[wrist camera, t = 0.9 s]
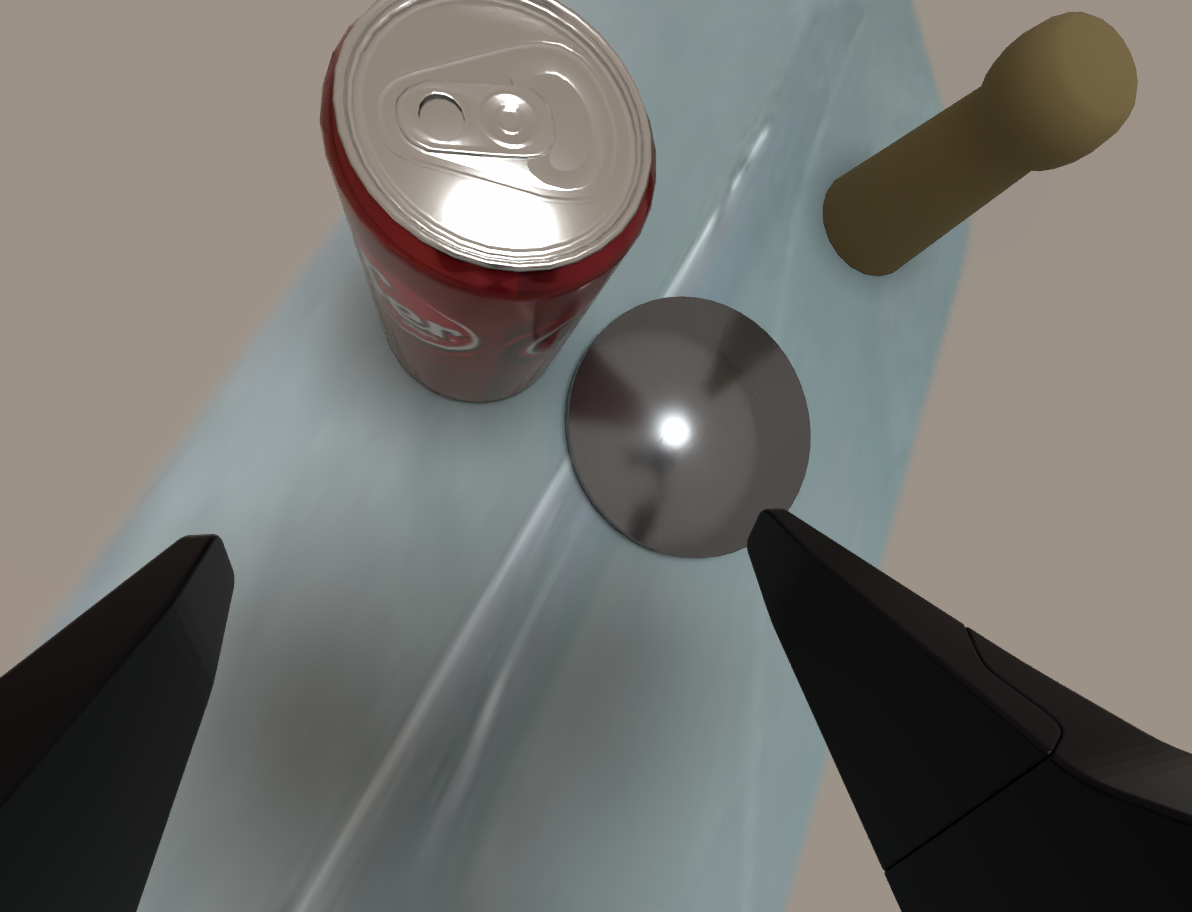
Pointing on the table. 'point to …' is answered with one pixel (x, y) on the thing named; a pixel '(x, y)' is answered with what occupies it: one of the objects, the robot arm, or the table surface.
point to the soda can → (484, 180)
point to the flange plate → (687, 426)
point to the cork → (985, 142)
